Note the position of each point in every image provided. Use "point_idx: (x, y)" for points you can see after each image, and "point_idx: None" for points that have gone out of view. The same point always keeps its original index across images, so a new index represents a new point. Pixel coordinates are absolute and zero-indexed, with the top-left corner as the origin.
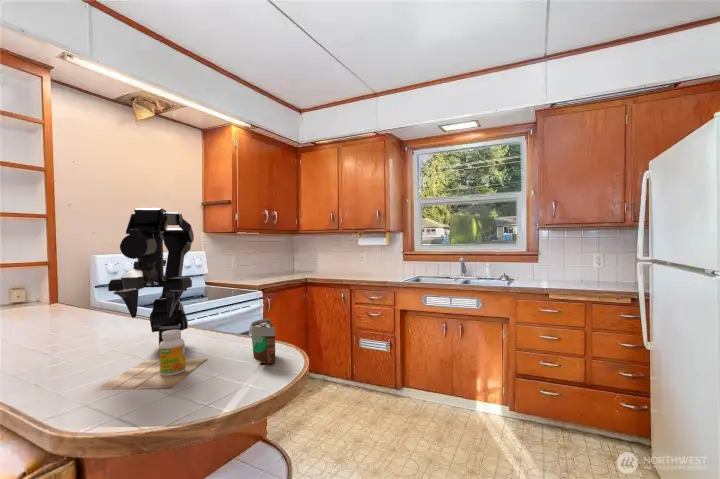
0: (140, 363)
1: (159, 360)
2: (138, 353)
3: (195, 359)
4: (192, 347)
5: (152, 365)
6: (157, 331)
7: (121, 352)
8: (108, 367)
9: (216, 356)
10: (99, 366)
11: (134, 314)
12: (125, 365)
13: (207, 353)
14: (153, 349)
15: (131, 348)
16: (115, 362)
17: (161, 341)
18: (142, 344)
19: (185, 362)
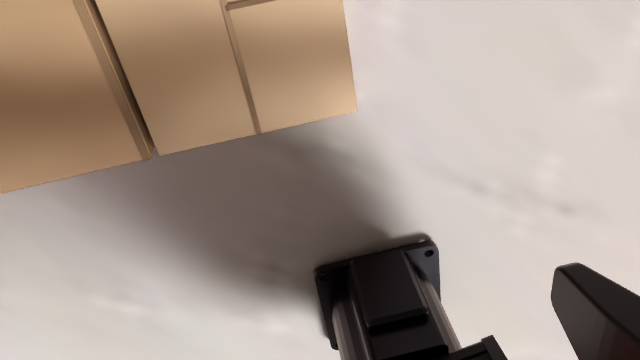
0: (347, 55)
1: (258, 123)
2: (522, 227)
3: (16, 180)
4: (294, 344)
5: (229, 37)
6: (460, 349)
7: (622, 220)
8: (559, 20)
9: (34, 285)
10: (625, 24)
11: (574, 311)
12: (474, 68)
13: (134, 305)
14: (480, 283)
15: (603, 270)
16: (567, 97)
17: (403, 296)
18: None
19: (33, 124)
